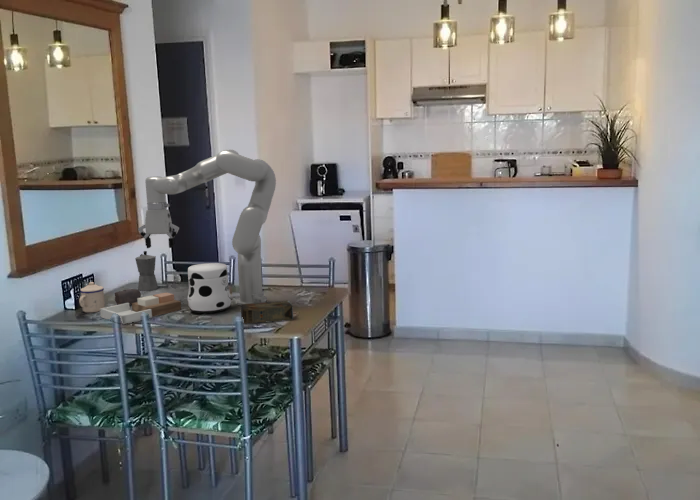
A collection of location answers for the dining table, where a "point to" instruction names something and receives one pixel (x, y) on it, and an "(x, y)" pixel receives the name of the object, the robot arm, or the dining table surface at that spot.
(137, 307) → the brown square slab
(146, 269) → the coffeepot
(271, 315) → the beverage carton
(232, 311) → the dining table surface
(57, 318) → the dining table surface
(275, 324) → the dining table surface
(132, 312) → the tray
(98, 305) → the teacup with lid
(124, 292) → the perforated stone tool
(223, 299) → the milk container
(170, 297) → the terracotta tile
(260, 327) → the dining table surface
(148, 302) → the cream tile
